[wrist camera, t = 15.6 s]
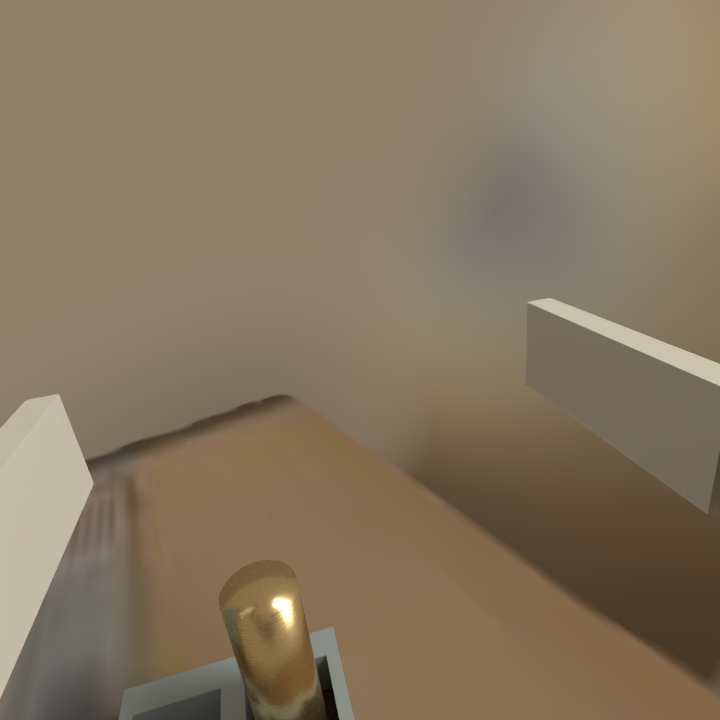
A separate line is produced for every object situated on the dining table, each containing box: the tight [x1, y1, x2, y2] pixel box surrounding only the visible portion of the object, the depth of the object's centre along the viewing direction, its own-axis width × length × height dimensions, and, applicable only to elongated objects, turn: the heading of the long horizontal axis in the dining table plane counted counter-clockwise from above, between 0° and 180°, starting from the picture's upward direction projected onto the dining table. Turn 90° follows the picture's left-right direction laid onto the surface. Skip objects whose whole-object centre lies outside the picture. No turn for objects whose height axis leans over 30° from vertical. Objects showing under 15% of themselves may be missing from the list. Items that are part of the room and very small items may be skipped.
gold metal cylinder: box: [219, 560, 328, 720], centre depth 31 cm, size 4×4×14 cm
